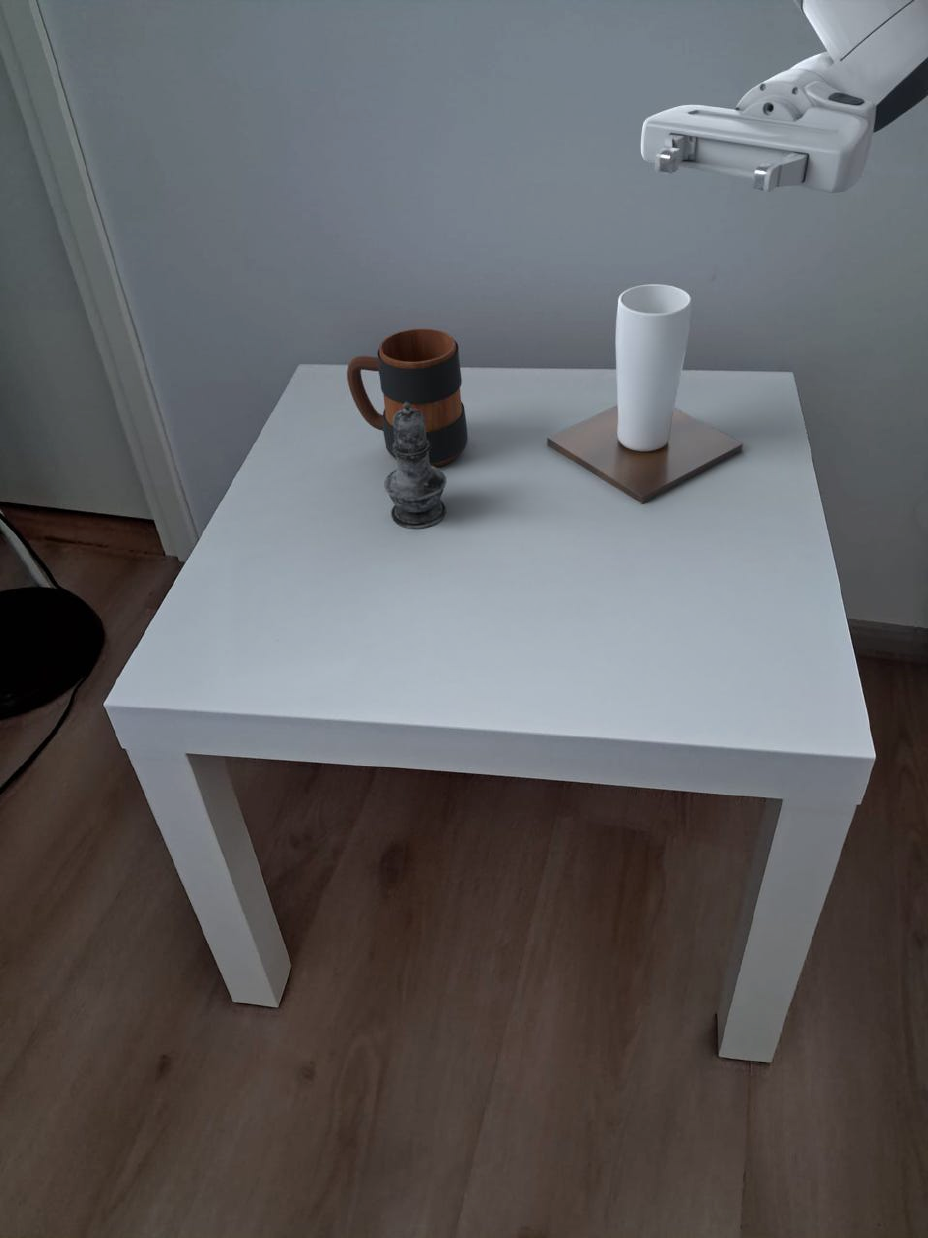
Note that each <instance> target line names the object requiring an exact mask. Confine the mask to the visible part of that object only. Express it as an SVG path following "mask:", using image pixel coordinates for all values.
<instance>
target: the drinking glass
mask: <svg viewBox="0 0 928 1238" xmlns="http://www.w3.org/2000/svg"><path fill="white" fill-rule="evenodd" d="M691 314H692V298H691V295H689V293H688V292H686V291H685V290H684V289H681V288H679V287H676V286H672V285H668V284H657V283H655V284H654V283H651V284H642V285H636V286H633V287H630V288H628V289H626V290H624V291H623V292H622V293H621V294H620V295H619V297H618V299H617V309H616V318H615V319H616V320H615V339H614V340H615V342H614V343H615V346H614V347H615V373H616V399H617V404H616V405H618V426H617V436H618V440H619V441H620V443H621V444H622V445H623V446H625V447H627V448H629V449H631V450H635V451H642V452H647V451H654V450H657V449H660V448H662V447H663V446H664V445H666V444H667V442H668V441H669V438H670V434H671V424H672V418H673V413H674V408H676V402H677V397H678V393H679V387H680V382H681V377H682V374H683V368H684V363H685V359H686V353H687V349H688V343H689V335H690V328H691V327H690V325H691Z"/></svg>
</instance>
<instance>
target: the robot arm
mask: <svg viewBox="0 0 928 1238" xmlns="http://www.w3.org/2000/svg"><path fill="white" fill-rule="evenodd" d="M793 2H794V3H795V5H796V6H797V7H798V9H799V10H800V12H801V13H802V14H803V15H804V16H805V17H806V18H807V19H808V21H809V23H810V25H811V26H812V28H813V30H814V31H815V33H816V35H817V36H818V38H819V39H820V41H821V43H822V45H823V47H824V48H825V49H826V51H823V52H821V53H819V54H815V55H812V56H810V57H808V58H806V59H803V60H802V61H800V62H798V63H797V64H794V65H793V66H792V67H790V68H788V69H787V70H783V71H782V72H779V73H778V74H775V75H773V76H772V77H771V78H769V79H766V80H765V81H763V82H760V83H759V84H757V85H755V86H754V87H752V88H751V89H750V90H748V91H747V92H746V93H745V94H744V95H743V96H742V98H741V99H740V100H739V102H738V103H737V104H736V107H735V108H734V109H733V108H725V107H717V106H710V105H702V104H684V105H679V106H675V107H672V108H669V109H666V110H663V111H660V112H658V113H655V114H653V115H651V116H649V117H647V118H646V119H645V120H644V121H643V124H642V128H641V137H640V153H641V156H642V159H643V160H644V161H645V162H648V163H654V172H655V173H659V174H665V175H666V174H667V175H672V174H673V173H675V172H677V171H679V168H683V169H689V170H695V171H700V172H705V173H711V174H718V175H725V176H729V177H735V178H741V179H742V178H743V179H748V180H753V182H752V189H754V190H757V191H762V192H768V193H770V192H772V191H773V190H775V189H777V188H784V187H794V188H800V189H807V190H811V191H816V192H817V191H818V192H824V193H828V194H840V193H845V192H847V191H849V190H850V189H852V188H853V187H855V186H856V185H857V183H858V182H859V180H860V178H861V177H862V175H863V172H864V169H865V166H866V163H867V160H868V156H869V153H870V149H871V146H872V140H873V135H874V133H877V132H879V131H881V130H883V129H884V128H885V127H887V126H889V125H890V124H891V123H893V122H895V121H896V120H897V119H898V118H899V117H901V116H902V115H904V114H905V113H907V112H908V111H910V110H911V109H912V108H914V107H915V106H917V105H918V104H919V103H920V102H922V101H923V100H924V99H926V97H928V0H793Z"/></svg>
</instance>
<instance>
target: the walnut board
mask: <svg viewBox="0 0 928 1238" xmlns="http://www.w3.org/2000/svg"><path fill="white" fill-rule="evenodd" d="M617 426H618V405H617V404H616V405H614V406H612V407H610V408H608V409H606V410H603V411H601V412H599V413H597V414H595V415H592V416H591V417H589V418H587V419H584V420H582V421H580V422H578V423H576V424H574V425H572V426H569V427H567V428H565V429H563V430H561V431H559V432H557V433H554V434H552V435H550V436H548V437H546V444H547V446H549V447H551V448H552V449H554V450H556V451H557V452H559V453H560V454H562V455H564V456H565V457H567V458H568V459H569V460H571V461H573V462H575V463H576V464H578V465H579V466H581V467H582V468H584V469H586V470H587V471H589V472H591V473H592V474H594V475H595V476H597V477H599V478H600V479H601V480H603V481H605V482H606V483H608V484H609V485H611V486H613V487H615V488H616V489H618V490H619V491H621V492H622V493H624V494H626V496H629V497H630V498H632V499H634V500H635V501H637V502H638V503H640V504H641V505H643V504H644V503H646V502H649V501H650V500H652V499H654V498H656V497H658V496H660V495H662V494H663V493H665V492H667V491H669V490H671V489H673V488H674V487H676V486H678V485H680V484H682V483H684V482H686V481H688V480H689V479H691V478H694V477H695V476H697V475H699V474H701V473H702V472H704V471H706V470H708V469H710V468H712V467H714V466H716V465H718V464H720V463H721V462H723V461H725V460H727V459H729V458H731V457H733V456H734V455H736V454H738V453H740V452H742V451H743V446H744V443H742V442H740V441H739V440H736V439H735V438H733V437H732V436H729V435H727V434H726V433H724V432H721V431H720V430H718V429H715V428H713V427H712V426H710V425H708V424H706V423H704V422H703V421H701V420H698V419H697V418H695V417H693V416H691V415H689V414H687V413H686V412H683V411H681V410H679V409H678V408H676V407H675V408H674V413H673V418H672V424H671V434H670V438H669V441H668V442H667V444H666V445H664V446H663V447H662V448H660V449H657V450H654V451H647V452H642V451H635V450H631V449H629V448H627V447H625V446H623V445H622V444H621V443H620V441H619V440H618V436H617Z"/></svg>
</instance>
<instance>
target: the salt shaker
mask: <svg viewBox="0 0 928 1238" xmlns="http://www.w3.org/2000/svg"><path fill="white" fill-rule="evenodd" d="M410 406H411V405H410V404H409V403H408V402H405V404H404V405H403V407H404V409H402V410H400V411H398V412H397V413H396V414H395V415H394V417H393V430H394V438H395V443H394V444H393V445H392V452H393V453H394V454H395V455H396V460H395V461H396V469H395V470H393V471H391V472H390V473H389V474H388V475H387V476H386V478H385V480H384V481H383V482H384V483H383V485H384V490H385V492H386V493H387V494H388V497H390V499H391V501H392V503H393V504H394V506H393V507H392V509H391V511H390V513H391V515H390V517H391V518H392V521H393V522H394V523H395V524H396V525H398V526H400V527H402V528H405V529H410V530H411V529H412V530H421V529H422V530H423V529H427V528H431V527H433V526H435V525H437V524H439V523H440V522H441V521H442V520H443V519H444V518H445V516H446V513H447V510H446V509H447V508H446V505H445V503H444V502H443V501H442V500H441V499H442V496H443V494H444V492H445V491H444V490H445V487H446V485H447V476H446V474H445V472H444V471H442V469H440V468H438V467H434V466H430V462H429V451H430V449H431V443H430V441H429V440H427V439H426V429H425V419H424V416H423V414H422V413H421V412H420V411H419V410H417V409H414V408H410Z"/></svg>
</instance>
